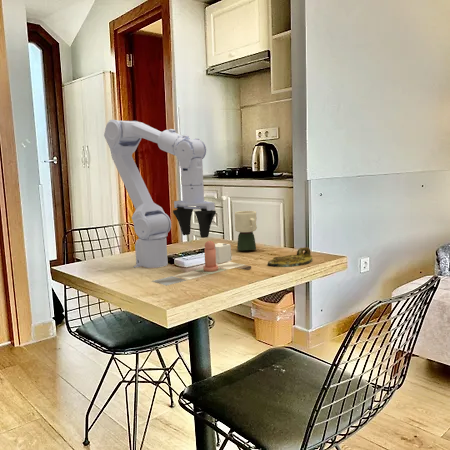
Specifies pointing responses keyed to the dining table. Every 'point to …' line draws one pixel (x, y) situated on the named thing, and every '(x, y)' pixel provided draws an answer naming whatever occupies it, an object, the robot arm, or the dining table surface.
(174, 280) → the board
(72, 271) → the dining table surface
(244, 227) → the character mug
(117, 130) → the robot arm
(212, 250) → the dildo
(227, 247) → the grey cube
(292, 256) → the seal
